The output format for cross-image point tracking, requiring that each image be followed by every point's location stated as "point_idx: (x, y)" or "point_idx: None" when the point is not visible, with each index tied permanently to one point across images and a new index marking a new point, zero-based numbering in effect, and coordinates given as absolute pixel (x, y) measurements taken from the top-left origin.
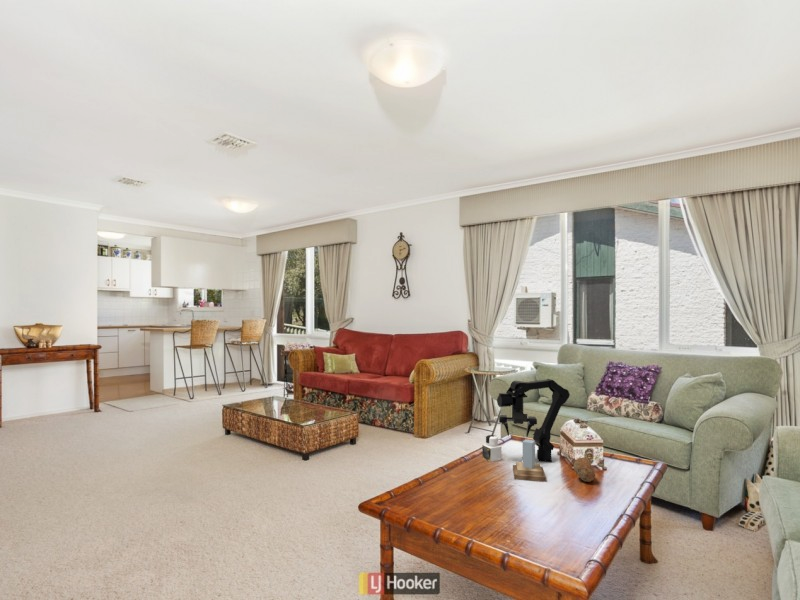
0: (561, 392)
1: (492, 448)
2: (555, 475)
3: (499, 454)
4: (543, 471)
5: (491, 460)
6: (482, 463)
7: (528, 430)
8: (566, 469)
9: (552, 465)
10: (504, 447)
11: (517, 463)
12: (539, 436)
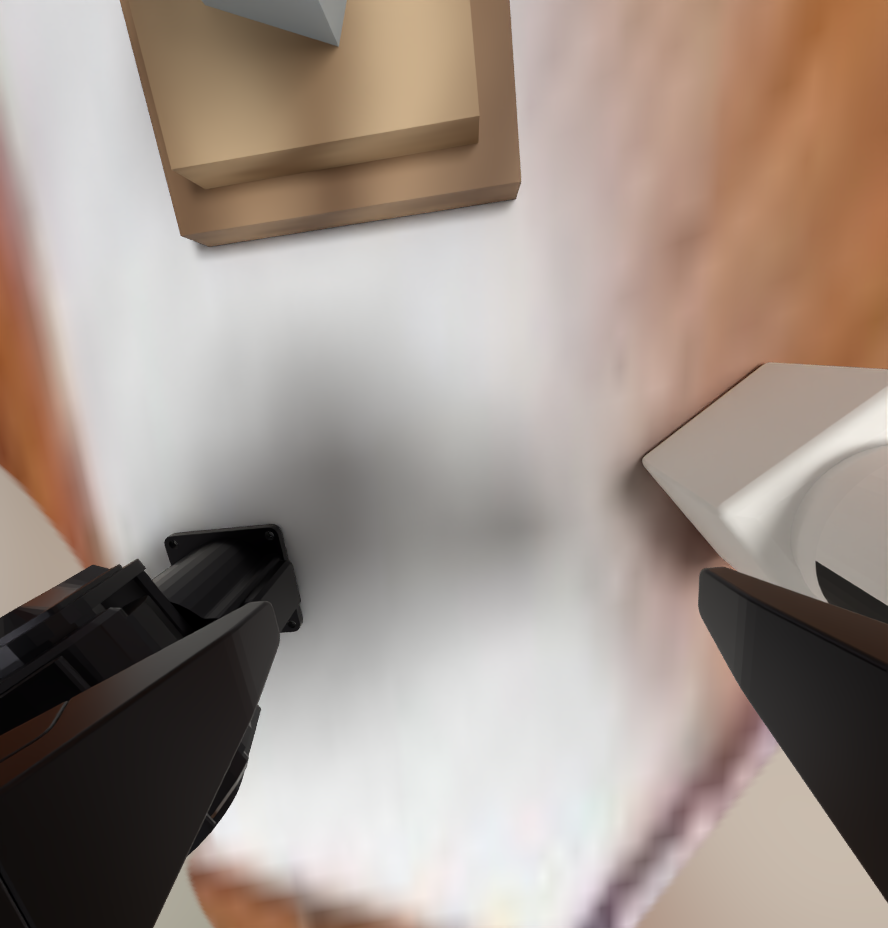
0: None
1: (873, 394)
2: (66, 144)
3: (692, 456)
4: (138, 44)
5: (762, 370)
6: (867, 277)
7: (66, 717)
8: (17, 378)
9: (151, 451)
10: (601, 798)
11: (456, 38)
12: (34, 708)
